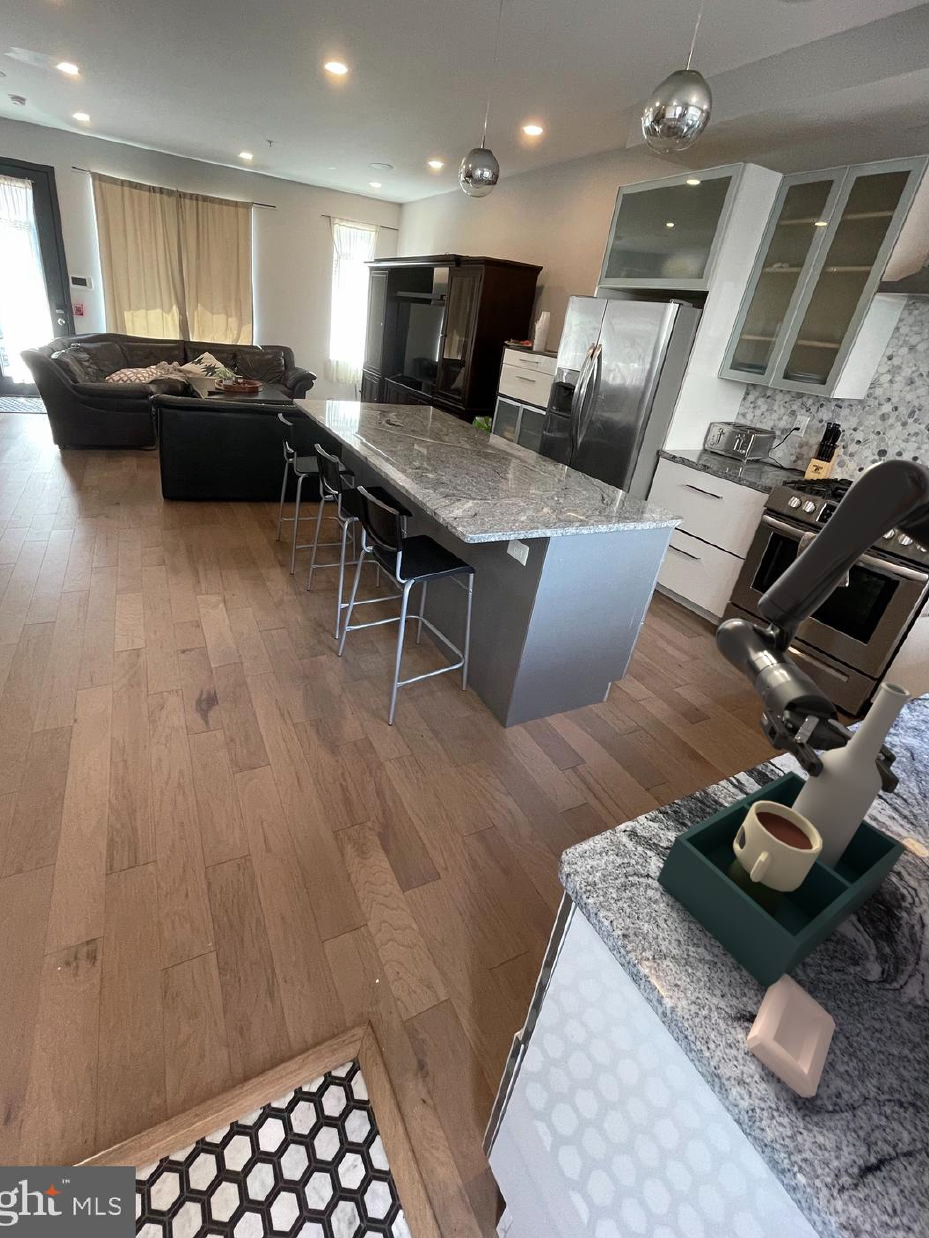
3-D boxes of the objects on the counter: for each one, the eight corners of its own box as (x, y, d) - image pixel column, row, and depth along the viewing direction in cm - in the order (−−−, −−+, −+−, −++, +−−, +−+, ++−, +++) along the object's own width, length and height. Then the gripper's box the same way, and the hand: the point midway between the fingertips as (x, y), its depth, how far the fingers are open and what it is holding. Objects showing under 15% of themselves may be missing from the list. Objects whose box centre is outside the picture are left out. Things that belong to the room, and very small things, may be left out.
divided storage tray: (771, 808, 82) (791, 770, 80) (878, 888, 72) (906, 848, 69) (656, 879, 68) (675, 836, 65) (769, 993, 57) (798, 947, 55)
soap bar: (822, 1028, 56) (838, 1019, 55) (799, 1106, 50) (816, 1098, 49) (771, 978, 59) (785, 968, 57) (742, 1045, 53) (757, 1036, 51)
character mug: (730, 859, 72) (768, 784, 67) (789, 901, 67) (835, 824, 62) (695, 906, 65) (734, 826, 60) (758, 957, 60) (807, 875, 55)
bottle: (777, 873, 71) (876, 695, 60) (764, 834, 77) (853, 665, 66) (834, 893, 70) (947, 714, 59) (817, 851, 75) (916, 682, 65)
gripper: (752, 668, 80) (806, 742, 65) (855, 689, 79) (933, 769, 64) (733, 710, 83) (781, 789, 68) (832, 730, 82) (903, 816, 67)
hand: (855, 779), depth 66 cm, fingers open, 8 cm apart
